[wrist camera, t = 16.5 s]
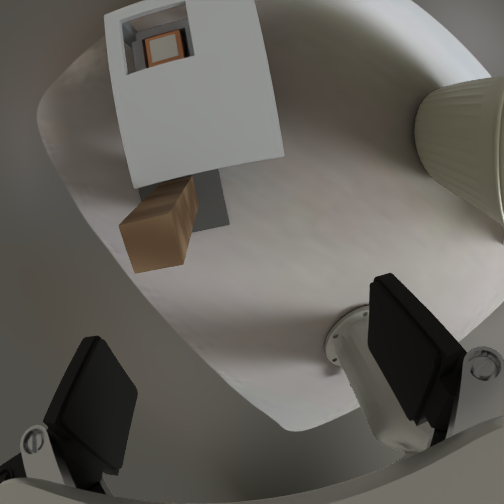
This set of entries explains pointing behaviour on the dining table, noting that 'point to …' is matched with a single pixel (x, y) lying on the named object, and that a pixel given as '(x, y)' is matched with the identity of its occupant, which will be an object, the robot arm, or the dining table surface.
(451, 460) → the robot arm
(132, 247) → the brown wooden bar
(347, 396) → the dining table surface
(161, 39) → the breaker button
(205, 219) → the pad
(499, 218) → the canister
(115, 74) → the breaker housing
